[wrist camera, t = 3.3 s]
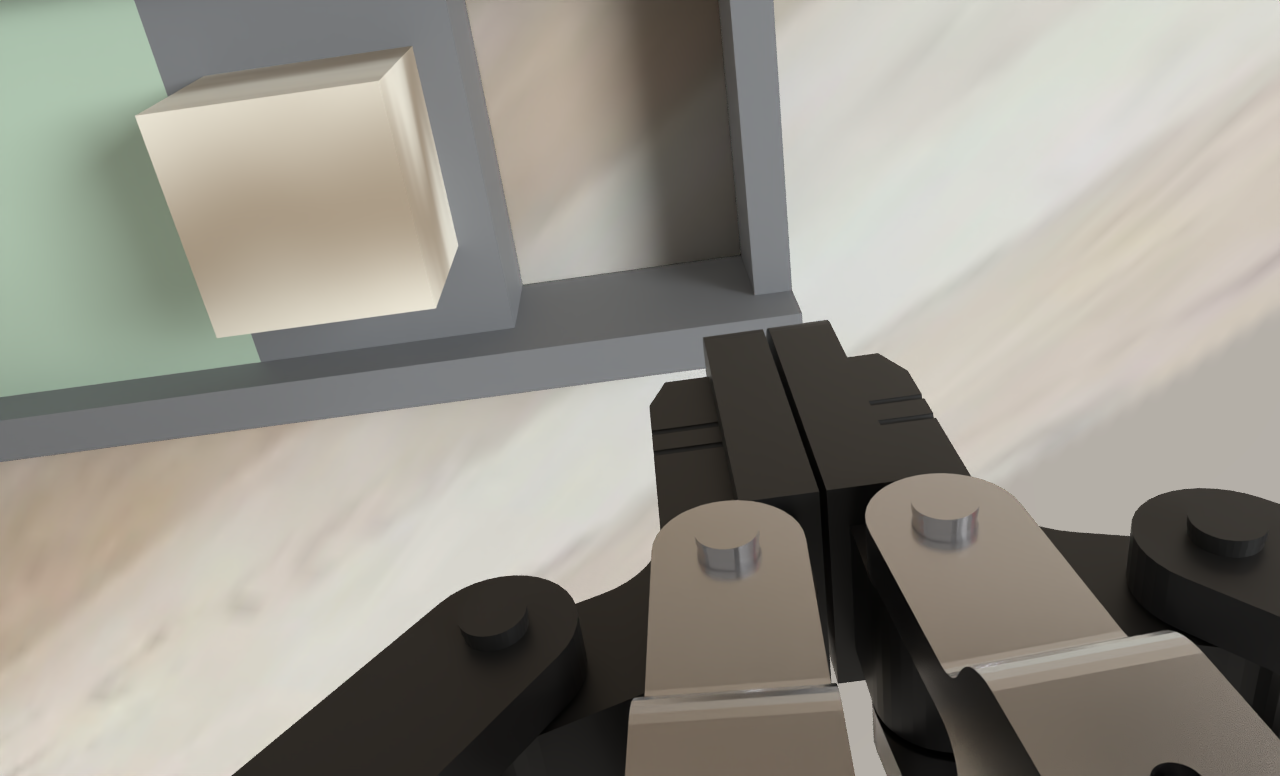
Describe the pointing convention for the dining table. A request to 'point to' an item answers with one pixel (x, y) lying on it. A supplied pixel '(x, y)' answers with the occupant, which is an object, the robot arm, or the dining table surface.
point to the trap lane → (332, 352)
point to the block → (305, 191)
